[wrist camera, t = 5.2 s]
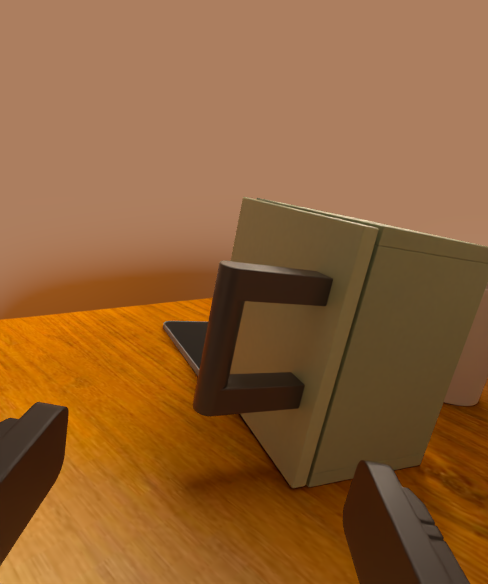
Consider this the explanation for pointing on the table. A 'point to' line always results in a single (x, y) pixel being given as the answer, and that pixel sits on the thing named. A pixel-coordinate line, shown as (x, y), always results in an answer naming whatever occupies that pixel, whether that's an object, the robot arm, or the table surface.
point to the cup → (472, 361)
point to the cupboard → (399, 349)
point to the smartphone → (188, 340)
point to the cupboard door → (282, 326)
